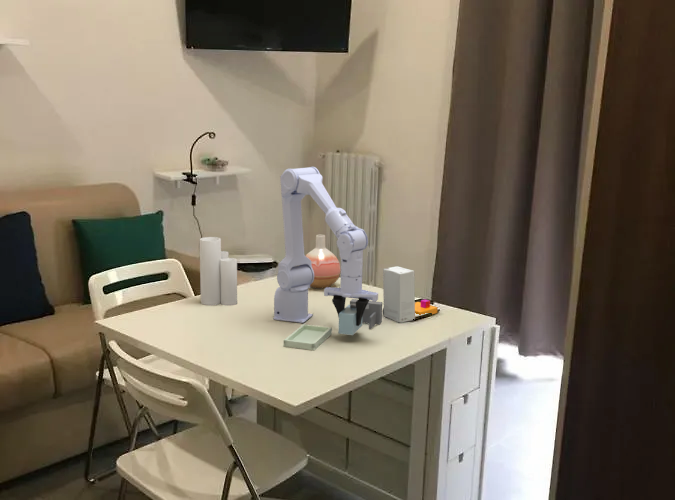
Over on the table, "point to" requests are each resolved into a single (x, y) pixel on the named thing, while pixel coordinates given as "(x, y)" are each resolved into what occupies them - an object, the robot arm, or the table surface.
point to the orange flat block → (425, 307)
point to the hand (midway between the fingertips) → (350, 323)
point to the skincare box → (399, 293)
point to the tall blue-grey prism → (348, 320)
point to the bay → (371, 313)
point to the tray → (307, 337)
